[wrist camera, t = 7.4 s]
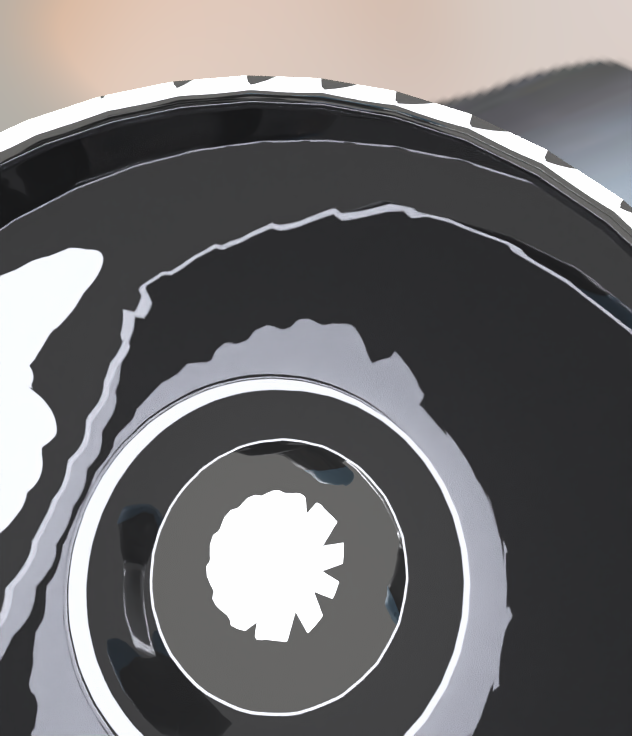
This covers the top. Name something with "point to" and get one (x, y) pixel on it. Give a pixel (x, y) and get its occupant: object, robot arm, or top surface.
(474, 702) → the wine glass
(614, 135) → the top surface
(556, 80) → the top surface
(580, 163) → the top surface
